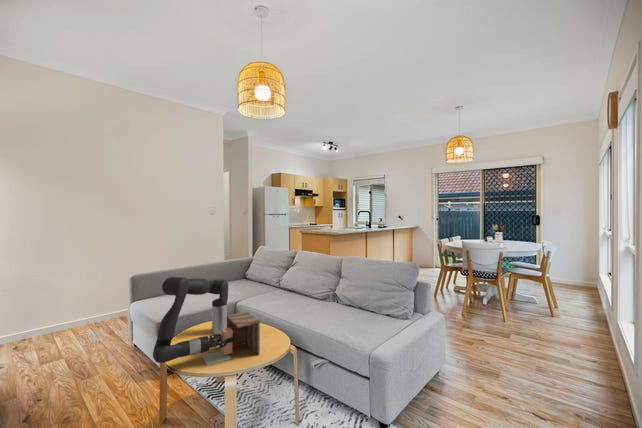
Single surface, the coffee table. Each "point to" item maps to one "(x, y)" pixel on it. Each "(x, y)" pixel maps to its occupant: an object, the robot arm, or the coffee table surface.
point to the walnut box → (245, 330)
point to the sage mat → (215, 358)
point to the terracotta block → (225, 335)
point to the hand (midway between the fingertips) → (231, 337)
